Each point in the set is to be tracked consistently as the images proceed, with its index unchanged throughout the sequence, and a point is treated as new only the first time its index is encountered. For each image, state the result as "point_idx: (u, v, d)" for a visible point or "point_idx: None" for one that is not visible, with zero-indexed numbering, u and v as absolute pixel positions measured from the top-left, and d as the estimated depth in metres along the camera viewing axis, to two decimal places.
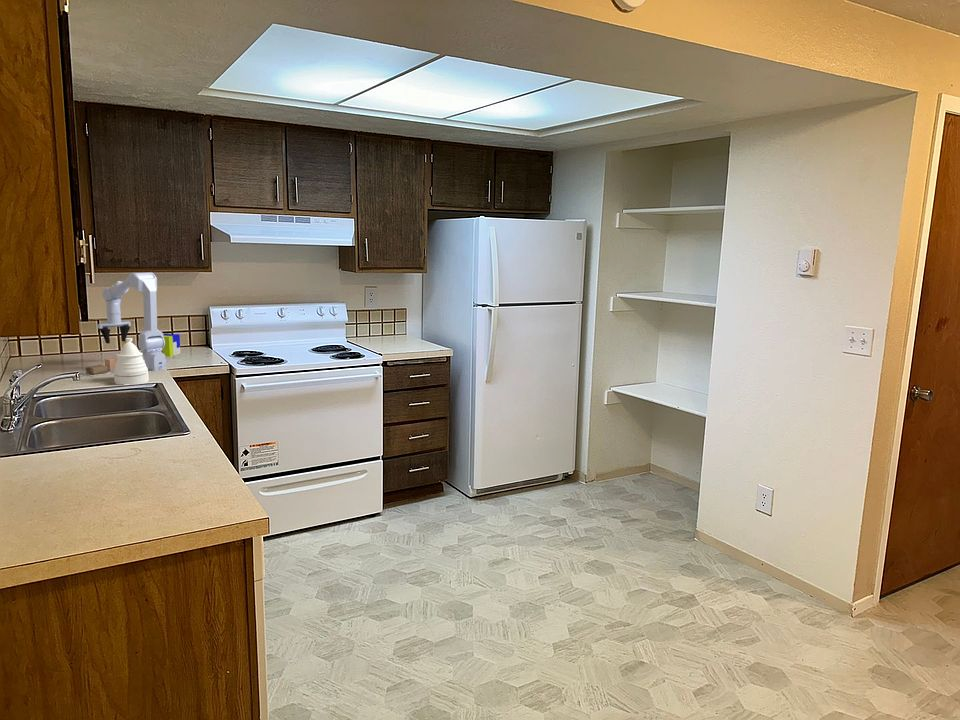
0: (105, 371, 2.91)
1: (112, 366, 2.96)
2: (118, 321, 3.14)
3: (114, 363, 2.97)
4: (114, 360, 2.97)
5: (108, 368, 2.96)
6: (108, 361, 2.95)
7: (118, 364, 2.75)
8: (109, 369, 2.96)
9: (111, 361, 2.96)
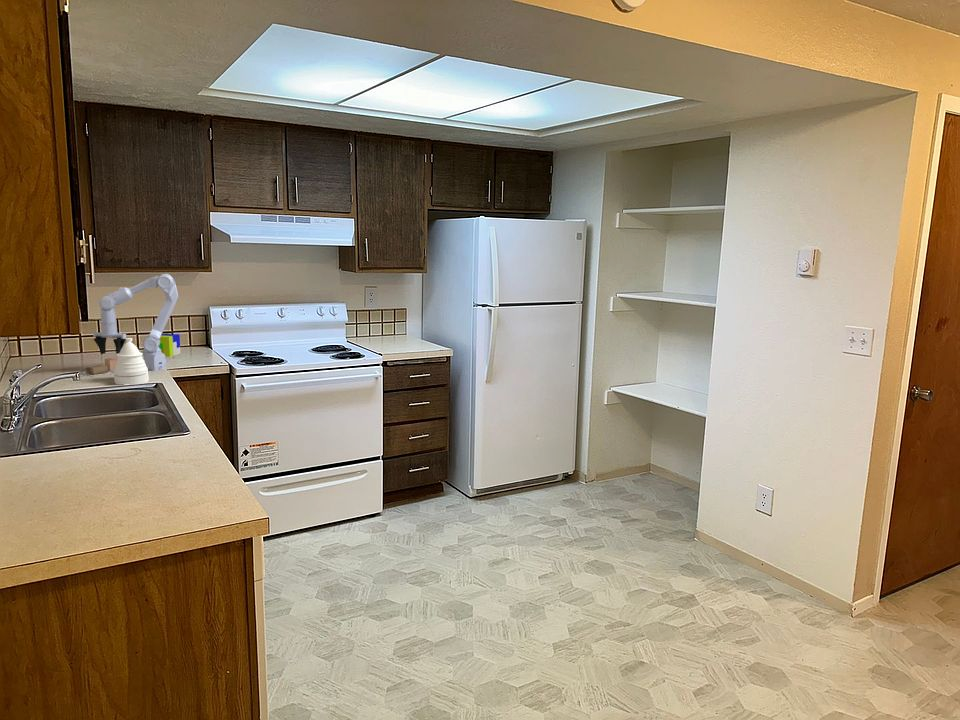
0: (105, 371, 2.91)
1: (112, 366, 2.96)
2: (105, 332, 2.92)
3: (114, 363, 2.97)
4: (114, 360, 2.97)
5: (108, 368, 2.96)
6: (108, 361, 2.95)
7: (118, 364, 2.75)
8: (109, 369, 2.96)
9: (111, 361, 2.96)
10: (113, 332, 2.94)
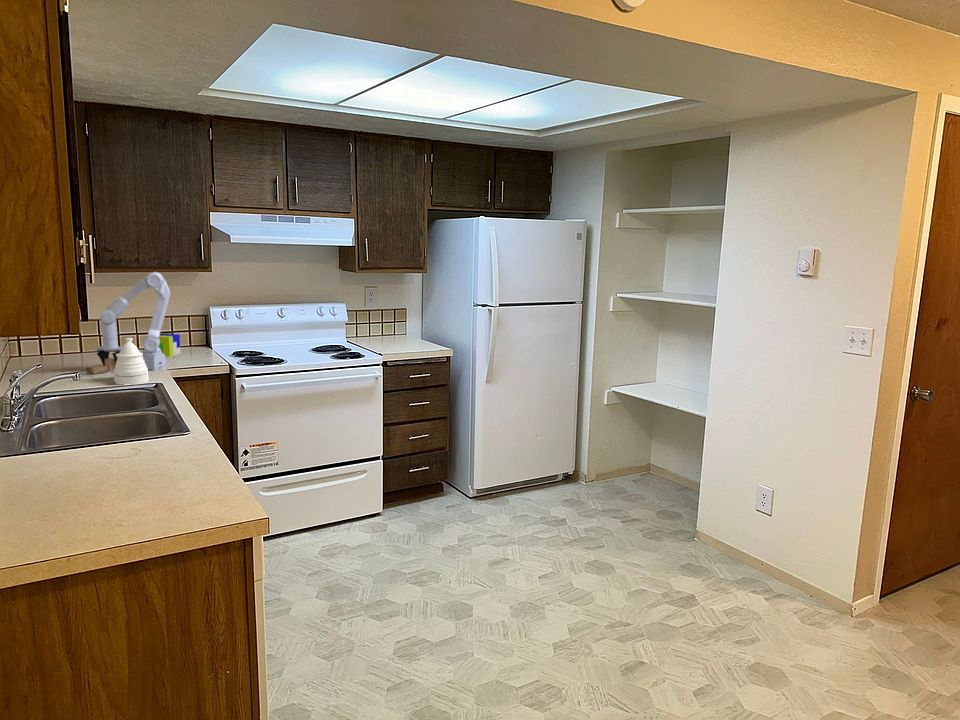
0: (105, 371, 2.91)
1: (112, 366, 2.96)
2: (107, 346, 2.94)
3: (114, 363, 2.97)
4: (114, 360, 2.97)
5: (108, 368, 2.96)
6: (108, 361, 2.95)
7: (118, 364, 2.75)
8: (109, 369, 2.96)
9: (111, 361, 2.96)
10: (114, 346, 2.95)
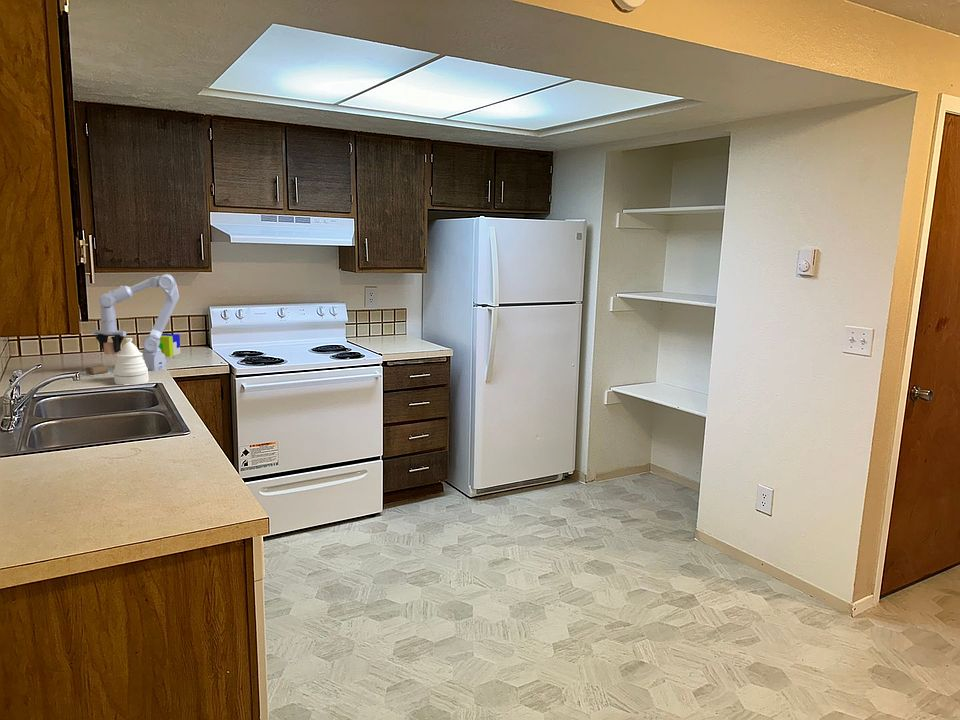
0: (105, 371, 2.91)
1: (111, 349, 2.95)
2: (105, 329, 2.92)
3: (113, 347, 2.95)
4: (113, 344, 2.95)
5: (107, 352, 2.95)
6: (107, 345, 2.94)
7: (118, 364, 2.75)
8: (108, 353, 2.95)
9: (110, 345, 2.94)
10: (113, 329, 2.94)
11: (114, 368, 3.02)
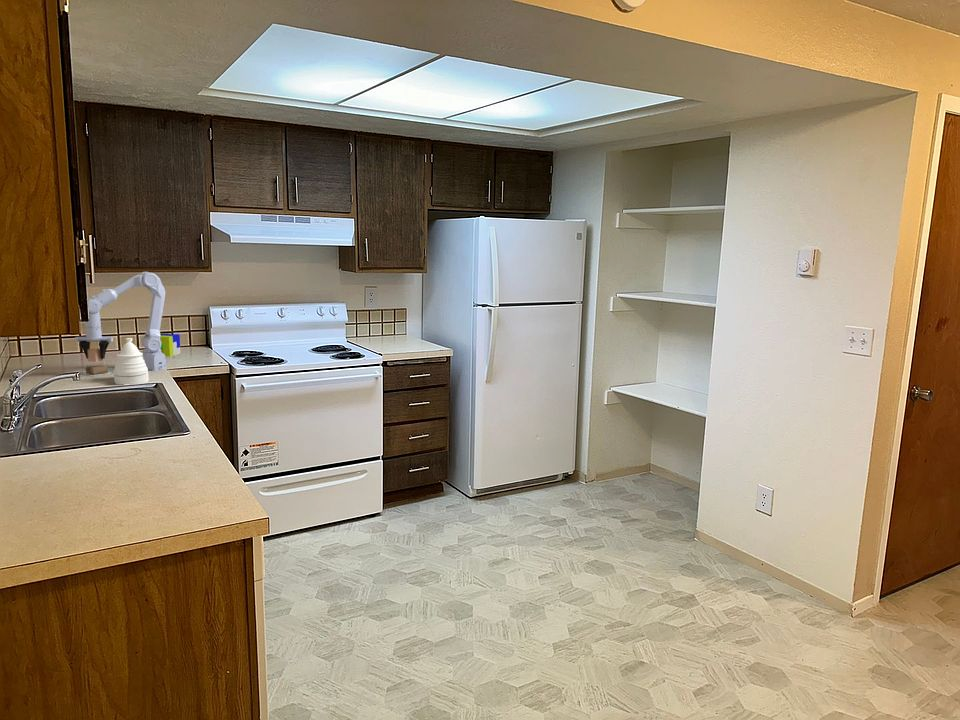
0: (105, 371, 2.91)
1: (97, 356, 2.88)
2: (92, 336, 2.85)
3: (99, 353, 2.89)
4: (99, 350, 2.88)
5: (93, 359, 2.87)
6: (93, 351, 2.87)
7: (118, 364, 2.75)
8: (94, 360, 2.87)
9: (96, 351, 2.87)
10: (99, 336, 2.87)
11: (114, 368, 3.02)
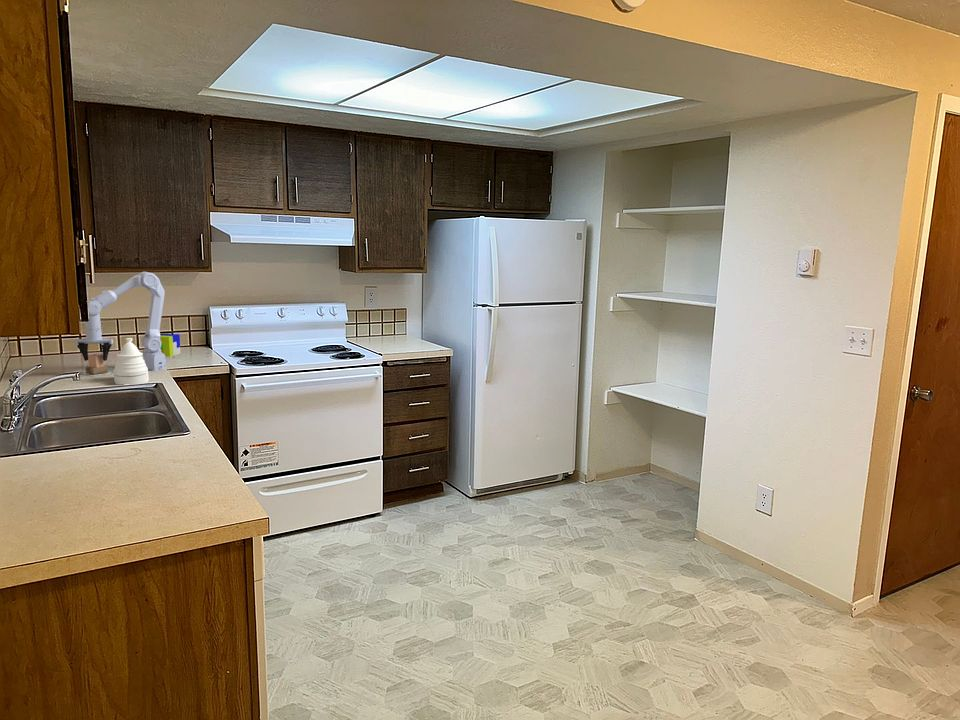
0: (105, 371, 2.91)
1: (98, 362, 2.88)
2: (92, 338, 2.85)
3: (99, 359, 2.89)
4: (99, 356, 2.89)
5: (93, 365, 2.88)
6: (93, 357, 2.87)
7: (118, 364, 2.75)
8: (95, 366, 2.88)
9: (97, 357, 2.88)
10: (99, 338, 2.87)
11: (114, 368, 3.02)
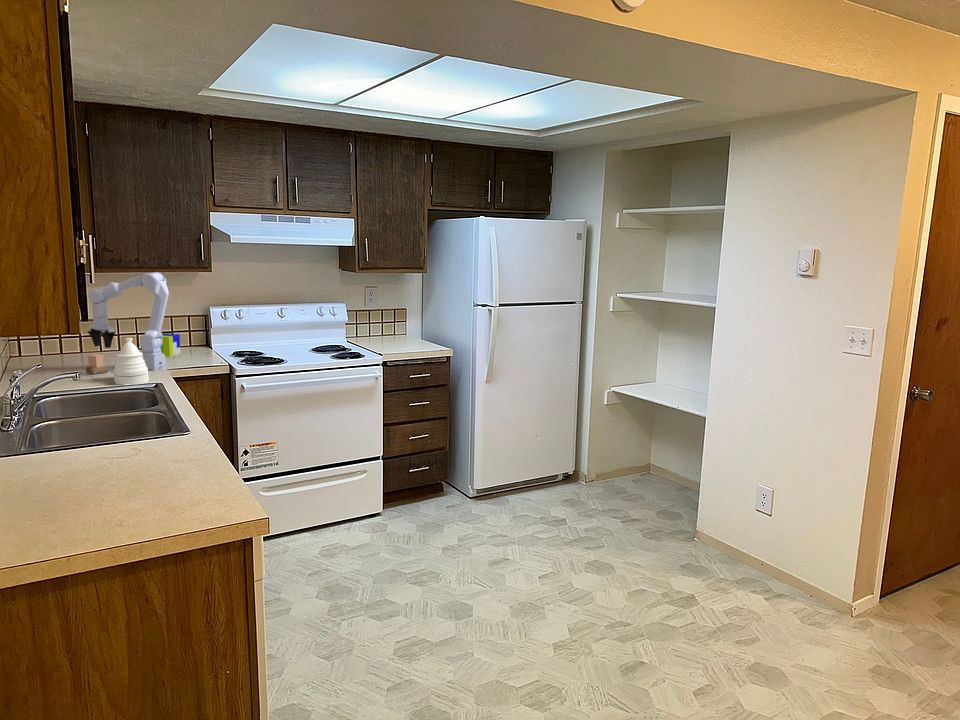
0: (105, 371, 2.91)
1: (98, 362, 2.88)
2: (95, 325, 2.97)
3: (99, 359, 2.89)
4: (99, 356, 2.89)
5: (93, 365, 2.88)
6: (93, 357, 2.87)
7: (118, 364, 2.75)
8: (95, 366, 2.88)
9: (97, 357, 2.88)
10: (102, 325, 2.98)
11: (114, 368, 3.02)
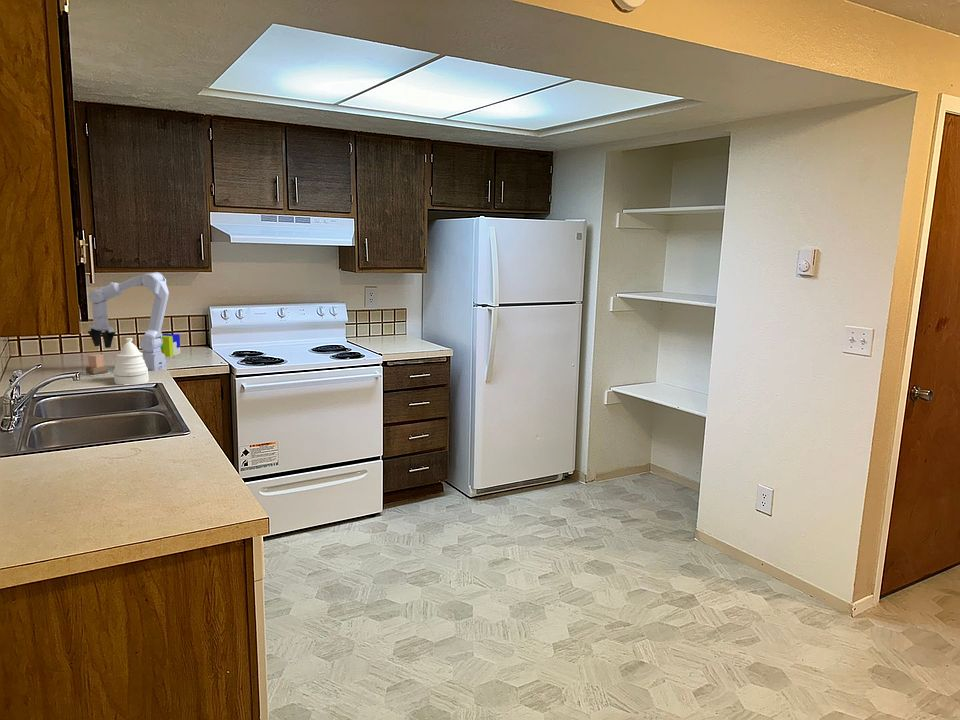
0: (105, 371, 2.91)
1: (98, 362, 2.88)
2: (95, 325, 2.97)
3: (99, 359, 2.89)
4: (99, 356, 2.89)
5: (93, 365, 2.88)
6: (93, 357, 2.87)
7: (118, 364, 2.75)
8: (95, 366, 2.88)
9: (97, 357, 2.88)
10: (102, 325, 2.98)
11: (114, 368, 3.02)
